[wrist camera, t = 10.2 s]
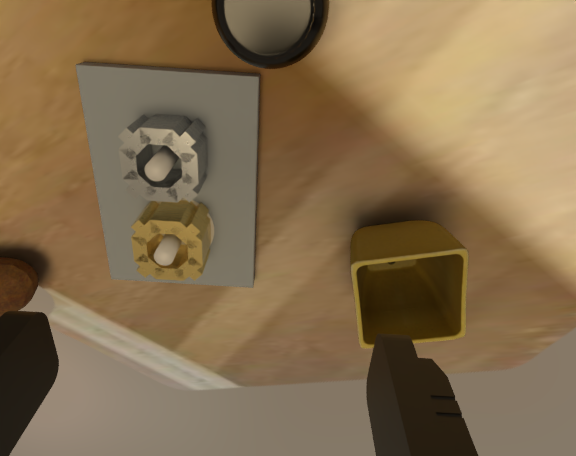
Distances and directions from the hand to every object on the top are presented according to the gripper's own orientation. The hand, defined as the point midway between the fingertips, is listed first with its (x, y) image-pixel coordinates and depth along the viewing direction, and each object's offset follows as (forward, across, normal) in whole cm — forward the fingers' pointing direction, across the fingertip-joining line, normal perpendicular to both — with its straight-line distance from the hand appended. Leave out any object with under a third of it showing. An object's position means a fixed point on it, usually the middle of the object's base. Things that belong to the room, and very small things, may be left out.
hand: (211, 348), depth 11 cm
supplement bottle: (+28, 0, -7) cm, 29 cm away
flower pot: (+28, -12, +13) cm, 33 cm away
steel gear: (+26, +8, +4) cm, 28 cm away
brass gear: (+26, +8, +12) cm, 30 cm away
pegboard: (+28, +8, +8) cm, 30 cm away
